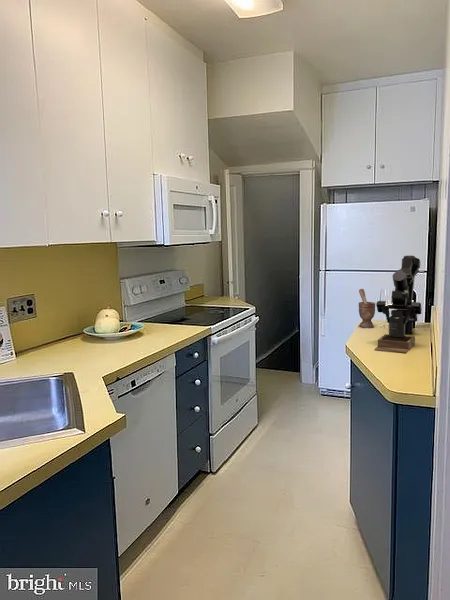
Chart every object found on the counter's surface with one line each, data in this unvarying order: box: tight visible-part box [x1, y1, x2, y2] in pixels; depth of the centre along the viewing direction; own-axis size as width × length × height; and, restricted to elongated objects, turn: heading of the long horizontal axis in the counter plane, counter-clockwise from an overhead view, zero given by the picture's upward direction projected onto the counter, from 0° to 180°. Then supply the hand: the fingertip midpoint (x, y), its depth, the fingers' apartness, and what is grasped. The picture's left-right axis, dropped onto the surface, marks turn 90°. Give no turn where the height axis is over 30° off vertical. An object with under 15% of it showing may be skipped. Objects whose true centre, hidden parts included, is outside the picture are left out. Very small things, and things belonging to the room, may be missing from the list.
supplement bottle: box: [388, 309, 406, 338], centre depth 212 cm, size 7×7×12 cm
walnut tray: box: [374, 333, 416, 354], centre depth 211 cm, size 18×13×4 cm
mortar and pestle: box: [358, 288, 376, 329], centre depth 258 cm, size 12×9×20 cm
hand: (396, 322), depth 211 cm, fingers closed on supplement bottle, 7 cm apart
